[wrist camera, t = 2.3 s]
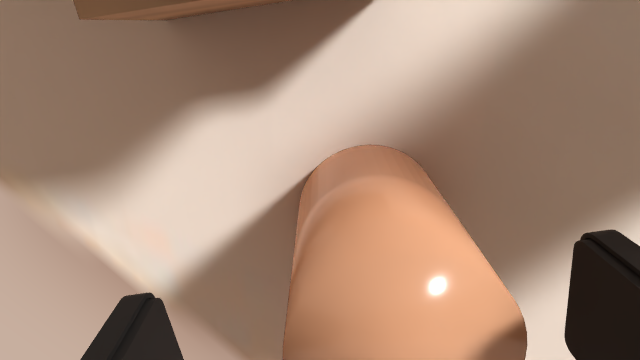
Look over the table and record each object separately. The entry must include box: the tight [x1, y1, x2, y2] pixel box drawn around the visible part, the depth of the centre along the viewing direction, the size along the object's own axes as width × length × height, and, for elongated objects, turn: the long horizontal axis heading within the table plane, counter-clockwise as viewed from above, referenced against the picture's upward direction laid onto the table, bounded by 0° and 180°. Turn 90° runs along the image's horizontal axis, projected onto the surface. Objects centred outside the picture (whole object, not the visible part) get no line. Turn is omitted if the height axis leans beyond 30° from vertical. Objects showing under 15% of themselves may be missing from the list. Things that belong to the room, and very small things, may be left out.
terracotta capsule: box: [283, 145, 527, 360], centre depth 12 cm, size 5×5×7 cm
